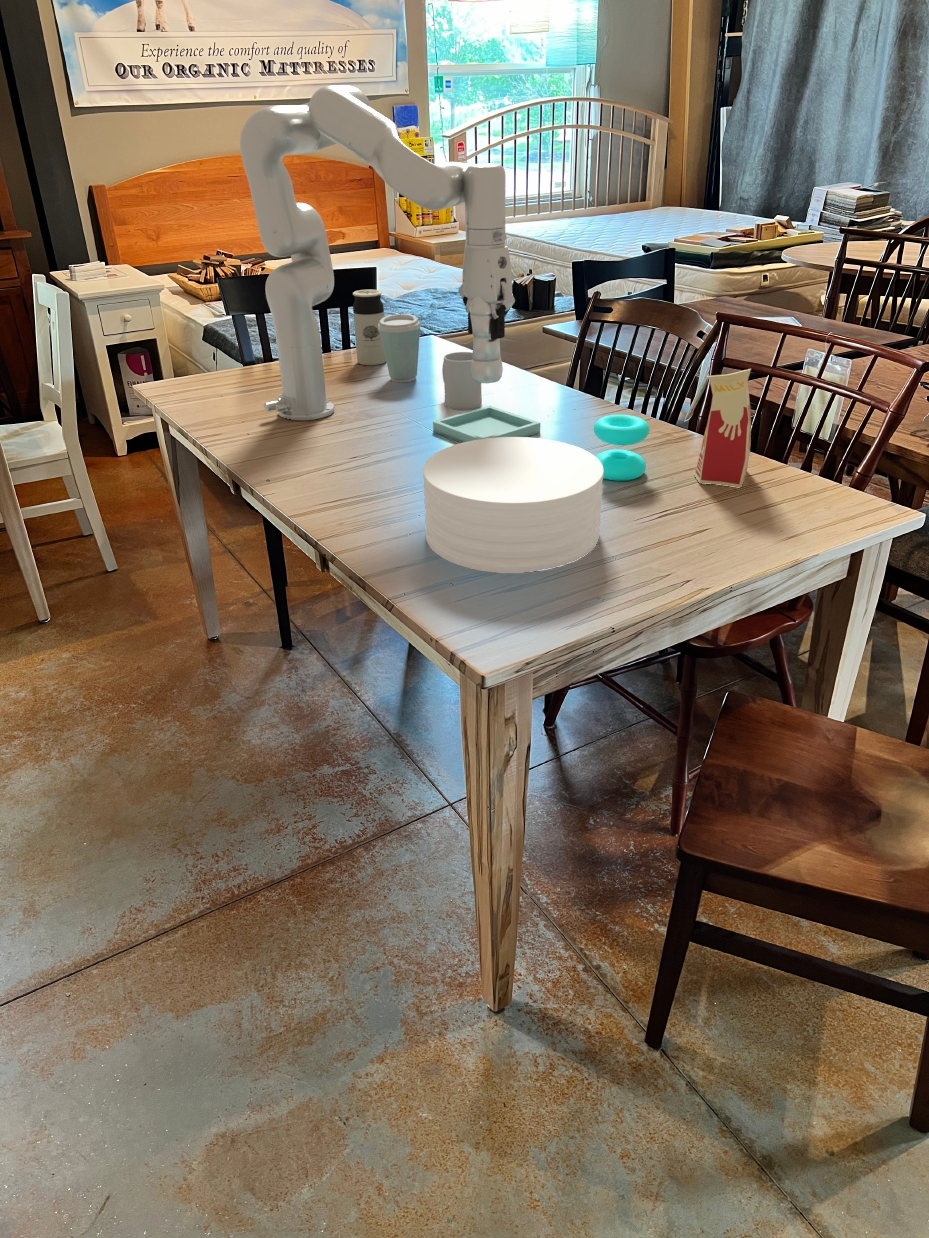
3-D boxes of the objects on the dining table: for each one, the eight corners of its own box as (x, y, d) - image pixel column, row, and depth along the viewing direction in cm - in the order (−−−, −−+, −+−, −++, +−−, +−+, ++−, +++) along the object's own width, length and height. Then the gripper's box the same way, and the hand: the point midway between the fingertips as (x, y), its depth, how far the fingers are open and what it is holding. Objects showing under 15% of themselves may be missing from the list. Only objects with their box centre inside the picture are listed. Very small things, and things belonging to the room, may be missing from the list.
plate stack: (468, 589, 125) (466, 516, 119) (401, 517, 147) (397, 452, 141) (633, 551, 134) (639, 482, 128) (547, 489, 156) (549, 427, 150)
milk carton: (746, 471, 162) (764, 363, 151) (743, 489, 154) (761, 377, 144) (696, 466, 164) (710, 359, 154) (691, 484, 157) (705, 373, 146)
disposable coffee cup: (422, 385, 214) (419, 322, 206) (378, 385, 214) (374, 323, 207) (424, 373, 223) (421, 312, 215) (382, 374, 223) (378, 313, 216)
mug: (489, 405, 199) (488, 357, 193) (458, 412, 195) (457, 363, 189) (459, 393, 207) (458, 347, 202) (429, 400, 203) (427, 352, 198)
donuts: (629, 409, 162) (661, 424, 155) (625, 460, 168) (656, 477, 160) (583, 417, 159) (614, 433, 151) (581, 469, 164) (610, 486, 156)
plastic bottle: (509, 381, 178) (510, 278, 167) (487, 389, 173) (486, 283, 163) (486, 376, 181) (485, 275, 171) (464, 383, 177) (461, 280, 167)
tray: (482, 451, 173) (482, 440, 172) (433, 431, 184) (432, 421, 183) (540, 433, 182) (540, 422, 181) (489, 415, 193) (489, 405, 191)
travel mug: (360, 358, 237) (355, 289, 228) (389, 358, 236) (385, 289, 227) (354, 366, 230) (348, 295, 221) (384, 366, 230) (379, 295, 220)
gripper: (531, 239, 160) (529, 339, 169) (471, 231, 171) (472, 325, 180) (501, 244, 156) (501, 346, 165) (441, 235, 167) (444, 331, 176)
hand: (486, 334), depth 172 cm, fingers closed on plastic bottle, 6 cm apart
